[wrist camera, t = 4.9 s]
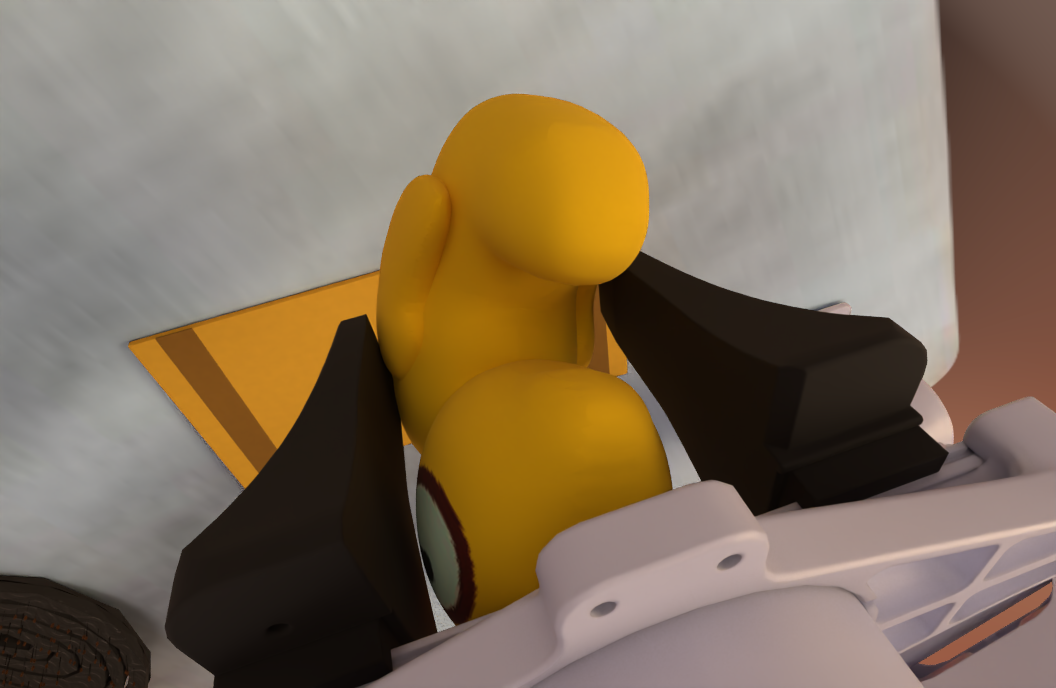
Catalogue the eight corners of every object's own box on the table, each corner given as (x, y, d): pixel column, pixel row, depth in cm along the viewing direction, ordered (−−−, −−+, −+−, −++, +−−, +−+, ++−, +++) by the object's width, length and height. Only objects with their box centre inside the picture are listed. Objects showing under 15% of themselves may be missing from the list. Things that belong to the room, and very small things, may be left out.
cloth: (617, 202, 24) (620, 205, 24) (625, 369, 31) (627, 373, 31) (129, 341, 22) (127, 346, 22) (251, 490, 28) (250, 496, 28)
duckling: (512, 415, 20) (629, 727, 13) (354, 419, 18) (385, 792, 11) (617, 76, 14) (967, 306, 7) (392, 26, 12) (526, 276, 5)
